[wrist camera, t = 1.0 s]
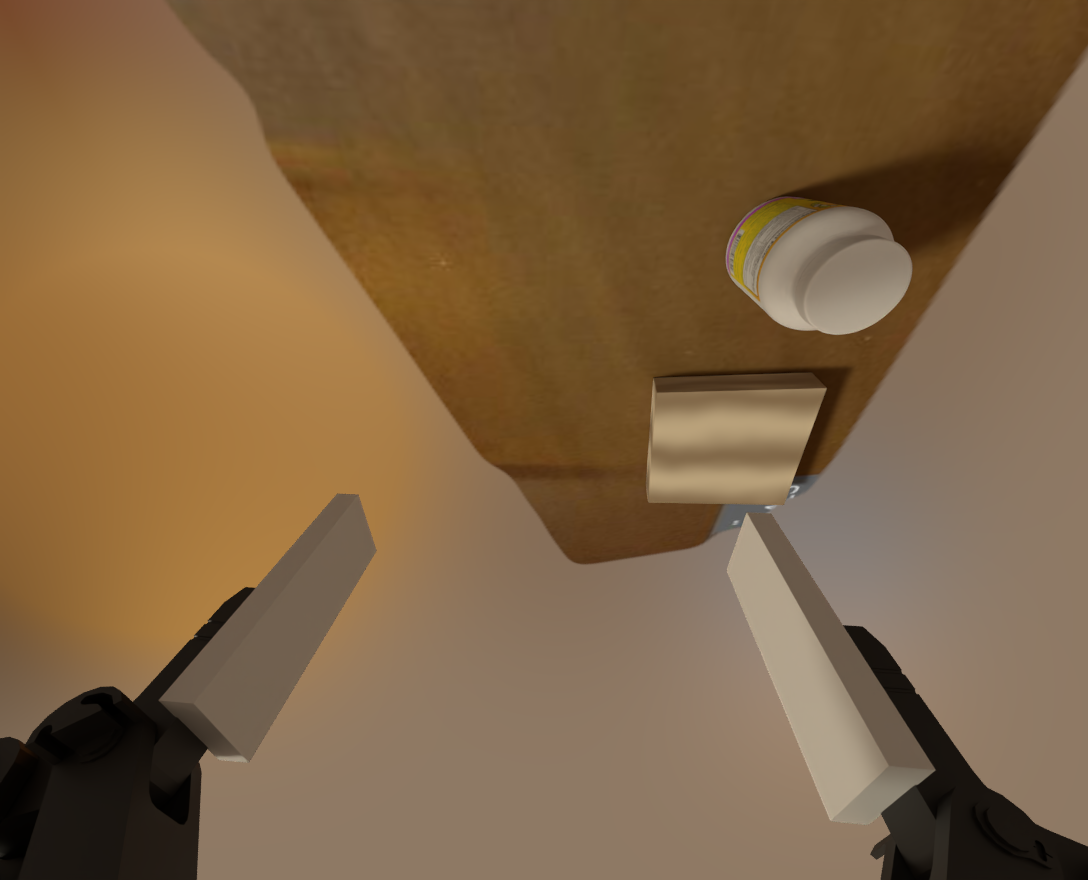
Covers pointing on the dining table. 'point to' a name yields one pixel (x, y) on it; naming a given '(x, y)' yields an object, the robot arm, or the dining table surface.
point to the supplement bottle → (818, 264)
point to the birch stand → (729, 436)
